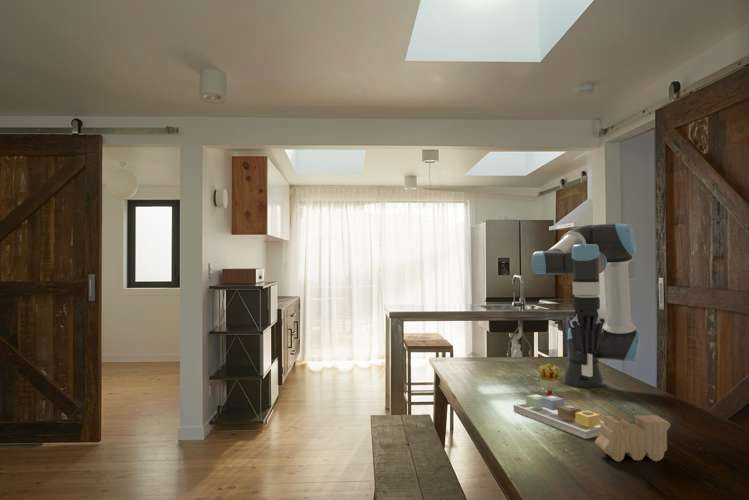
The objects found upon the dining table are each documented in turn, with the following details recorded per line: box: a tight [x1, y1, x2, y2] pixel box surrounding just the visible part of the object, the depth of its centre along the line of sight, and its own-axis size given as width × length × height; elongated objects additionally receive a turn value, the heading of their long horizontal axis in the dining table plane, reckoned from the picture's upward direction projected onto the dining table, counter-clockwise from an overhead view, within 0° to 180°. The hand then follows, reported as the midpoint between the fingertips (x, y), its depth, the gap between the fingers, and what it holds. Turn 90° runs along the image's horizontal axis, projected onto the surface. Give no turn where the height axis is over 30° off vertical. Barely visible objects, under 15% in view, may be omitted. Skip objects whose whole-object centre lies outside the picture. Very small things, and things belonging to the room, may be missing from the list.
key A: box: [575, 409, 601, 427], centre depth 155 cm, size 5×5×3 cm
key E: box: [525, 393, 545, 409], centre depth 174 cm, size 5×5×3 cm
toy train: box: [594, 414, 672, 462], centre depth 135 cm, size 6×17×10 cm, turn 91°
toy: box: [537, 363, 561, 396], centre depth 186 cm, size 7×7×15 cm
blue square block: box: [541, 394, 565, 410], centre depth 168 cm, size 5×5×3 cm
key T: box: [558, 404, 582, 421], centre depth 161 cm, size 5×5×3 cm
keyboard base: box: [513, 402, 604, 440], centre depth 164 cm, size 12×30×2 cm, turn 26°
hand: (587, 375), depth 155 cm, fingers closed
